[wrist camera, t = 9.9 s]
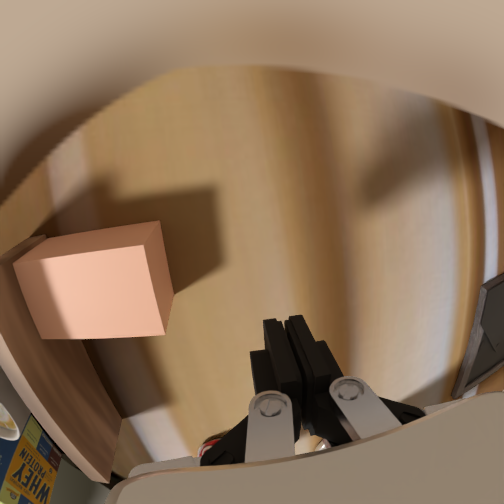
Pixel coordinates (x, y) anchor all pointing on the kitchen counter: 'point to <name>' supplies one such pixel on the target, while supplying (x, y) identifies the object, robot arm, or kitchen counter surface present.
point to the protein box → (28, 466)
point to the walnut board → (56, 379)
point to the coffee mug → (11, 410)
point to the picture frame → (484, 339)
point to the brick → (98, 283)
